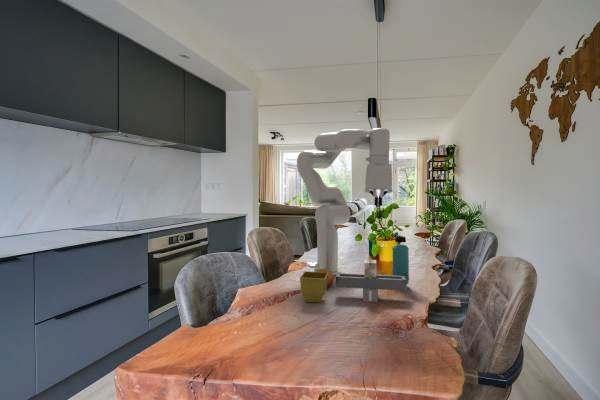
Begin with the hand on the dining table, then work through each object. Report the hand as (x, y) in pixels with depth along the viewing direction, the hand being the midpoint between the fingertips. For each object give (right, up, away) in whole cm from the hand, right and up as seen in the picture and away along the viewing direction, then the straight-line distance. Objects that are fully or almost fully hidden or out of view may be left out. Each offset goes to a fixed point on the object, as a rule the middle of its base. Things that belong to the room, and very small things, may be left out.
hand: (378, 207), depth 136 cm
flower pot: (-26, -32, -16) cm, 44 cm away
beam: (-6, -32, -13) cm, 35 cm away
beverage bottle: (+9, -32, +2) cm, 33 cm away
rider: (-6, -26, -13) cm, 30 cm away
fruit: (-21, -32, +1) cm, 38 cm away
